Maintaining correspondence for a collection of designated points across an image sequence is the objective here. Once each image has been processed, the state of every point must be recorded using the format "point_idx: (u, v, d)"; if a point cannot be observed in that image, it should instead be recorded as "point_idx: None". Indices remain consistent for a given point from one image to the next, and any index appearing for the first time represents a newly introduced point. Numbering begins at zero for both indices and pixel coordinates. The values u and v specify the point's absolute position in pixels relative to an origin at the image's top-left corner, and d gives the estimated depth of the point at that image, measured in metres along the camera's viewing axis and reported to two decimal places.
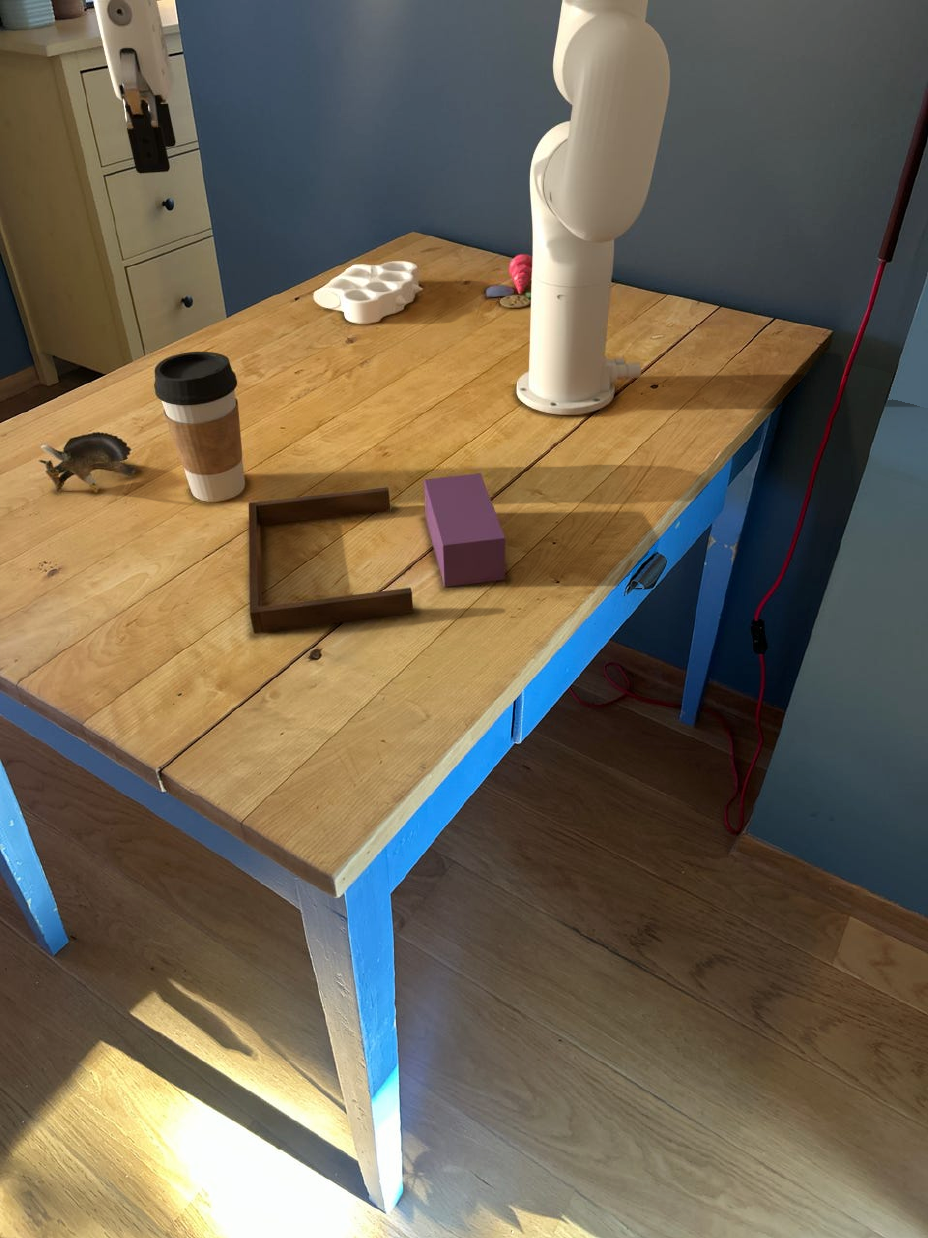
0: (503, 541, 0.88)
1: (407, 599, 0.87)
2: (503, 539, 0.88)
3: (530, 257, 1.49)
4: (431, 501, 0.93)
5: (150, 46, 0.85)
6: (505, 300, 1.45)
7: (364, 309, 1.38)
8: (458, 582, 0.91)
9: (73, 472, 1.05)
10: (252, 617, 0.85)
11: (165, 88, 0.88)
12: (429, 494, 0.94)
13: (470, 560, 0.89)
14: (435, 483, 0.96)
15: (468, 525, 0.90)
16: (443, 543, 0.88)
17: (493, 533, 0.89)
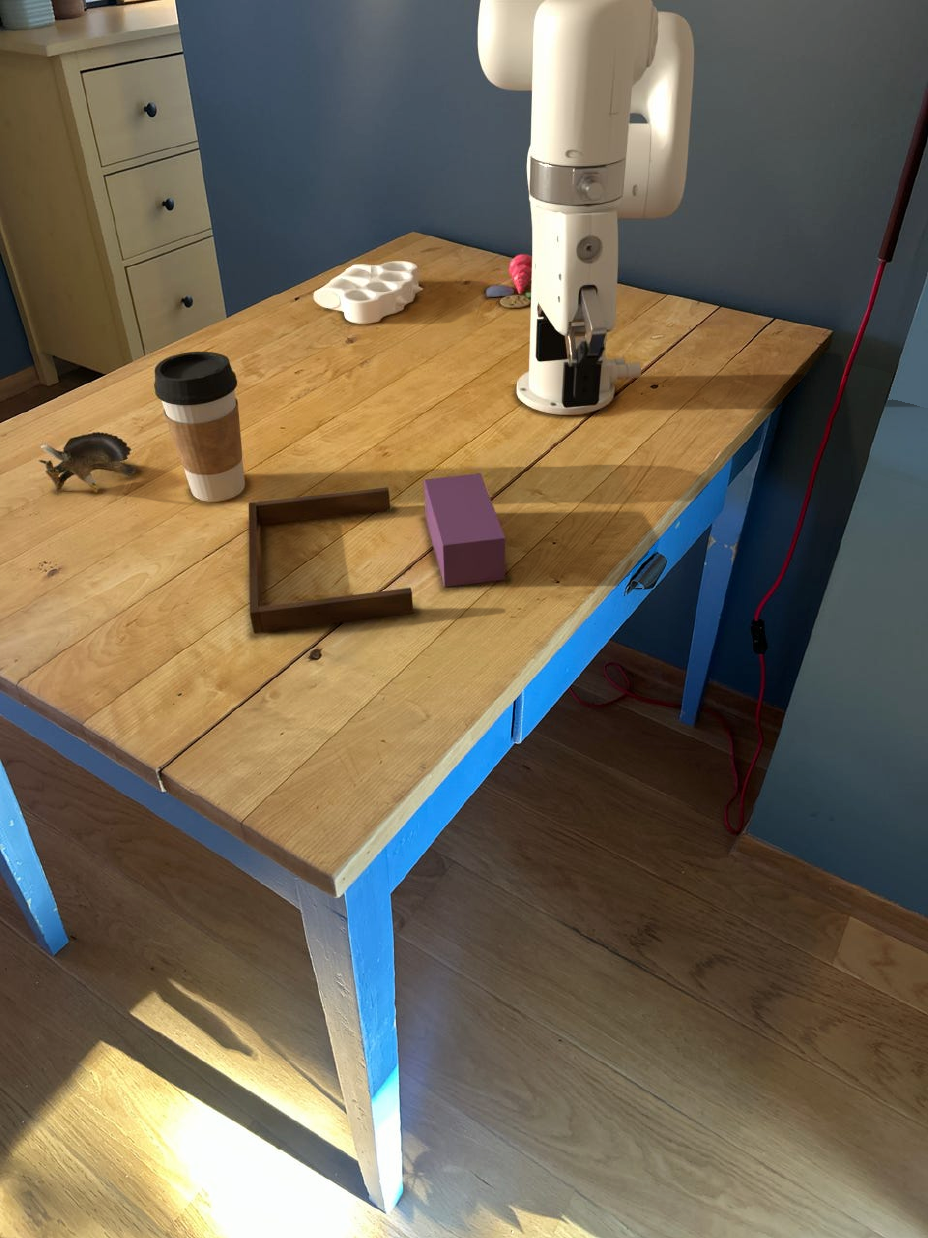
0: (503, 541, 0.88)
1: (407, 599, 0.87)
2: (503, 539, 0.88)
3: (530, 257, 1.49)
4: (431, 501, 0.93)
5: (613, 282, 0.75)
6: (505, 300, 1.45)
7: (364, 309, 1.38)
8: (458, 582, 0.91)
9: (73, 472, 1.05)
10: (252, 617, 0.85)
11: (614, 322, 0.78)
12: (429, 494, 0.94)
13: (470, 560, 0.89)
14: (435, 483, 0.96)
15: (468, 525, 0.90)
16: (443, 543, 0.88)
17: (493, 533, 0.89)
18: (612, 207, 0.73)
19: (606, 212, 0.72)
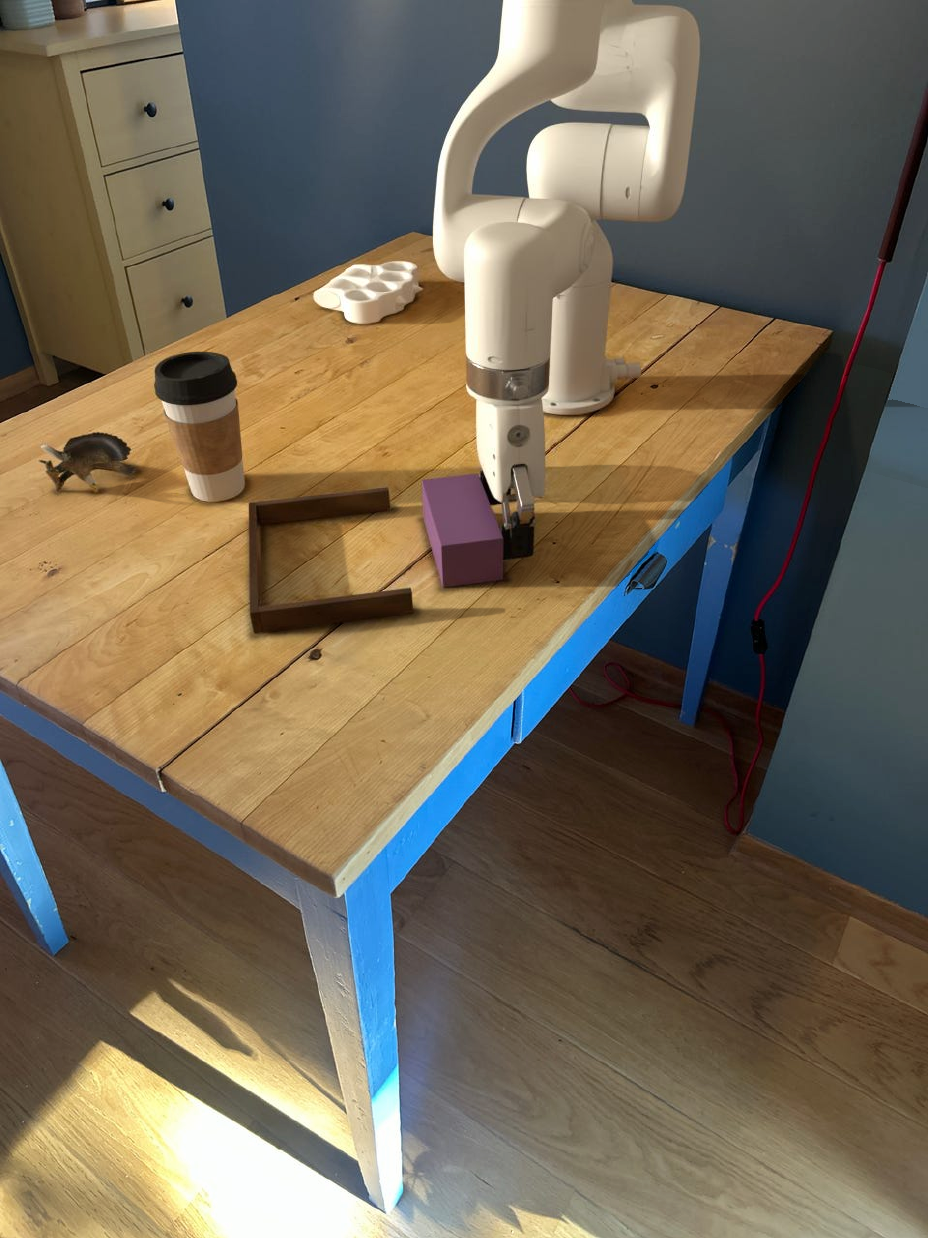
0: (501, 541, 0.88)
1: (407, 599, 0.87)
2: (501, 539, 0.88)
3: None
4: (429, 501, 0.93)
5: (541, 460, 0.85)
6: None
7: (364, 309, 1.38)
8: (456, 582, 0.91)
9: (73, 472, 1.05)
10: (252, 617, 0.85)
11: (544, 490, 0.87)
12: (427, 494, 0.94)
13: (468, 561, 0.89)
14: (432, 483, 0.96)
15: (466, 525, 0.90)
16: (441, 544, 0.88)
17: (491, 534, 0.89)
18: (538, 398, 0.83)
19: (532, 405, 0.82)
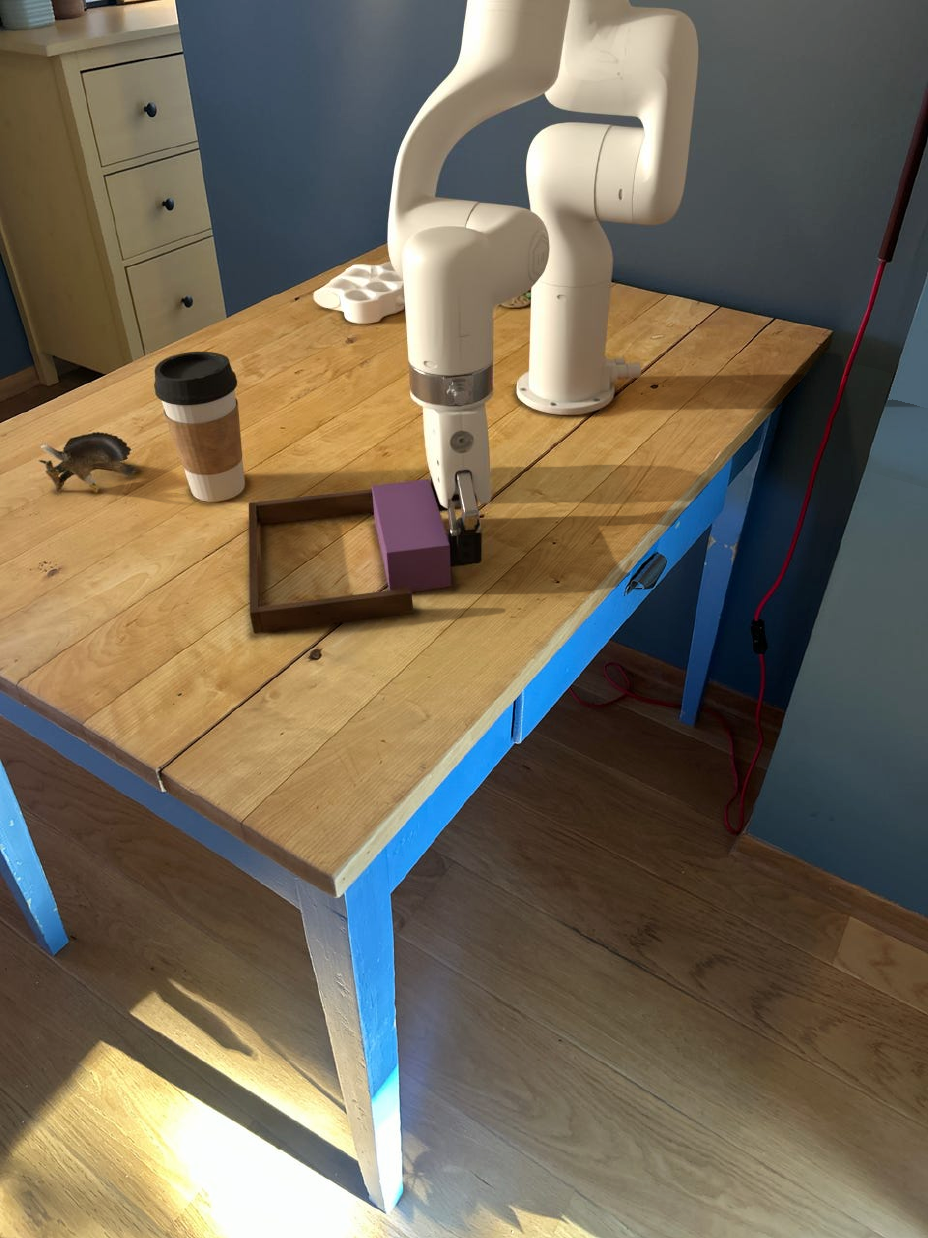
0: (448, 548, 0.88)
1: (407, 599, 0.87)
2: (448, 546, 0.88)
3: None
4: (377, 508, 0.93)
5: (485, 466, 0.84)
6: None
7: (364, 309, 1.38)
8: None
9: (73, 472, 1.05)
10: (252, 617, 0.85)
11: (490, 496, 0.87)
12: (376, 501, 0.94)
13: (414, 568, 0.89)
14: (383, 489, 0.95)
15: (413, 532, 0.89)
16: (387, 550, 0.87)
17: (437, 540, 0.88)
18: (481, 404, 0.82)
19: (475, 411, 0.81)
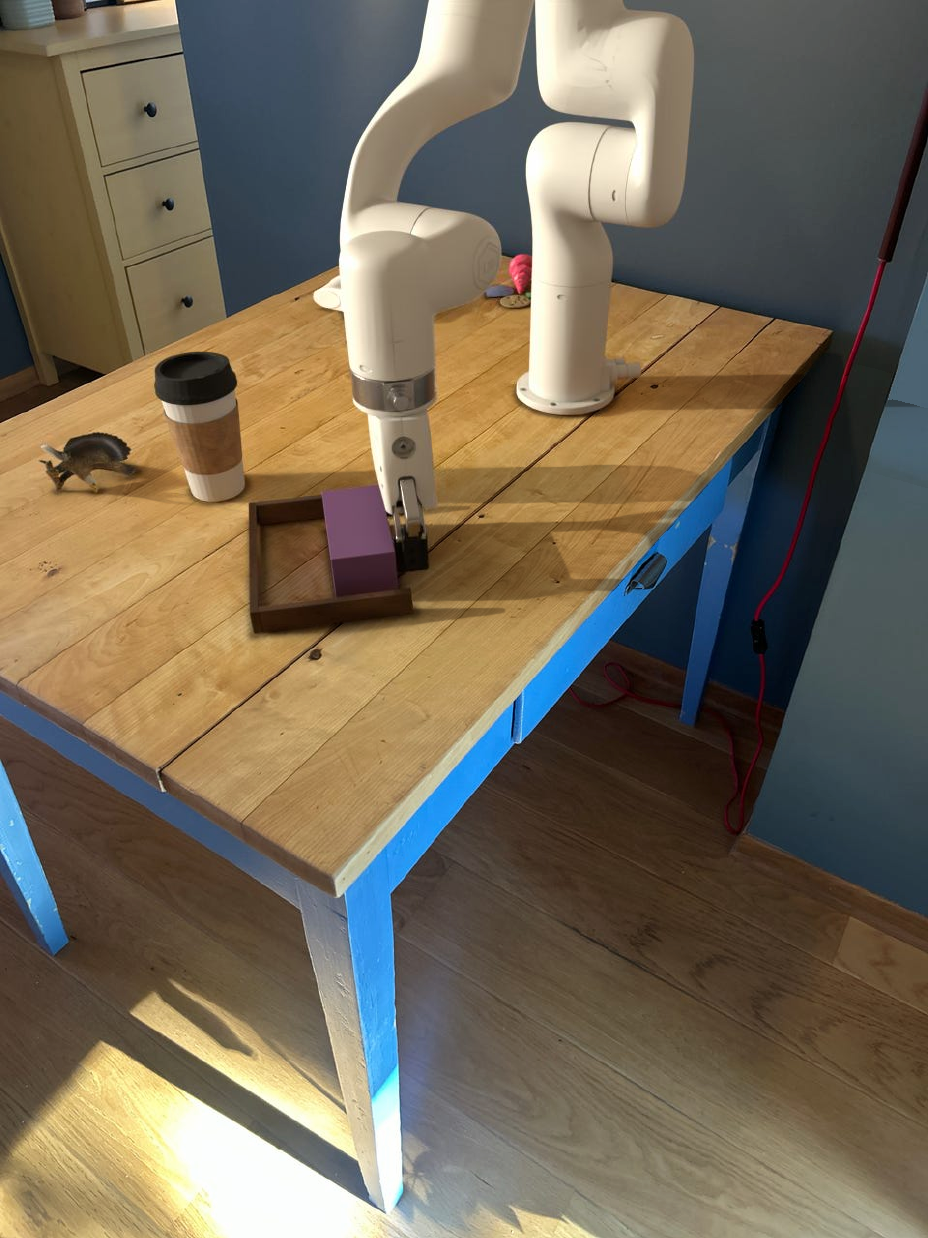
0: (393, 555, 0.87)
1: (407, 599, 0.87)
2: (393, 553, 0.87)
3: (530, 257, 1.49)
4: (325, 514, 0.92)
5: (429, 472, 0.83)
6: (505, 300, 1.45)
7: None
8: None
9: (73, 472, 1.05)
10: (252, 617, 0.85)
11: (436, 503, 0.86)
12: (324, 507, 0.93)
13: (360, 574, 0.88)
14: (332, 495, 0.94)
15: (359, 538, 0.89)
16: (331, 557, 0.86)
17: (383, 547, 0.87)
18: (423, 410, 0.81)
19: (416, 416, 0.81)
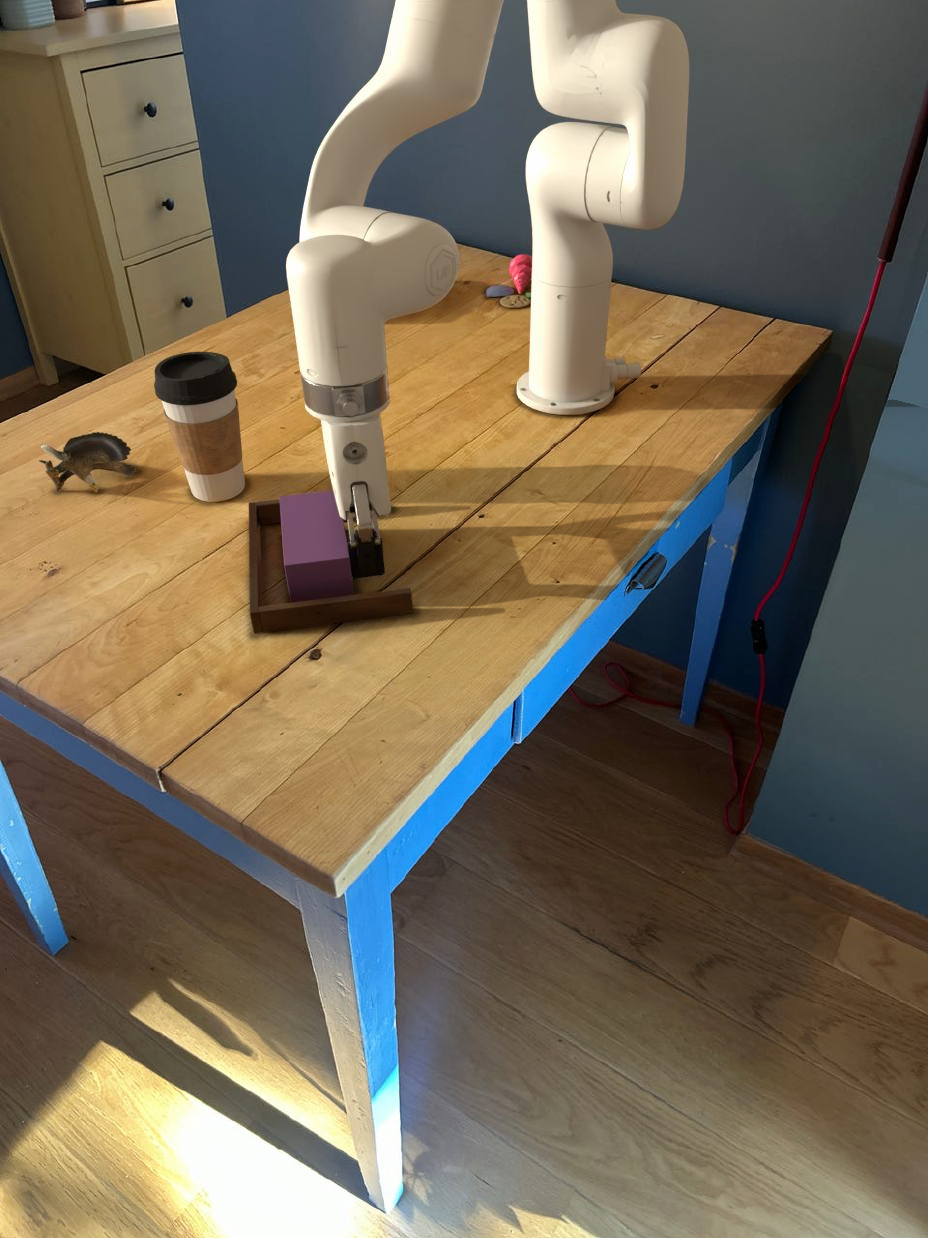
0: (348, 560, 0.87)
1: (407, 599, 0.87)
2: (347, 558, 0.86)
3: (530, 257, 1.49)
4: (282, 519, 0.91)
5: (381, 478, 0.83)
6: (505, 300, 1.45)
7: None
8: None
9: (73, 472, 1.05)
10: (252, 617, 0.85)
11: (390, 508, 0.85)
12: (281, 512, 0.92)
13: (315, 580, 0.87)
14: (290, 500, 0.94)
15: (314, 544, 0.88)
16: (285, 563, 0.86)
17: (338, 553, 0.87)
18: (375, 415, 0.81)
19: (367, 422, 0.80)
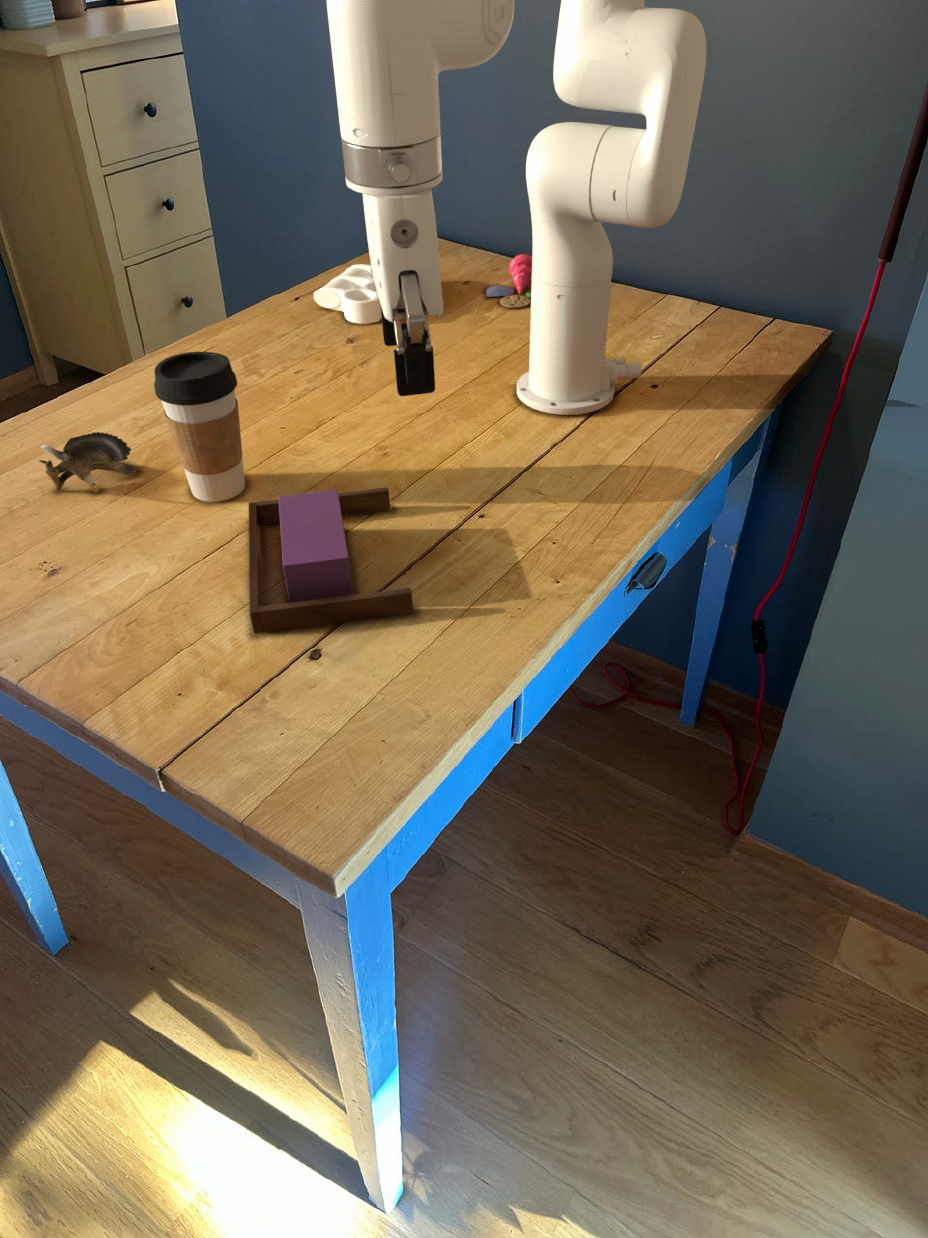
0: (346, 561, 0.87)
1: (407, 599, 0.87)
2: (346, 559, 0.86)
3: (530, 257, 1.49)
4: (281, 519, 0.91)
5: (434, 267, 0.73)
6: (505, 300, 1.45)
7: (364, 309, 1.38)
8: None
9: (73, 472, 1.05)
10: (252, 617, 0.85)
11: (442, 307, 0.75)
12: (280, 512, 0.92)
13: (314, 580, 0.87)
14: (289, 500, 0.94)
15: (313, 544, 0.88)
16: (284, 563, 0.86)
17: (336, 553, 0.87)
18: (427, 188, 0.71)
19: (418, 194, 0.70)
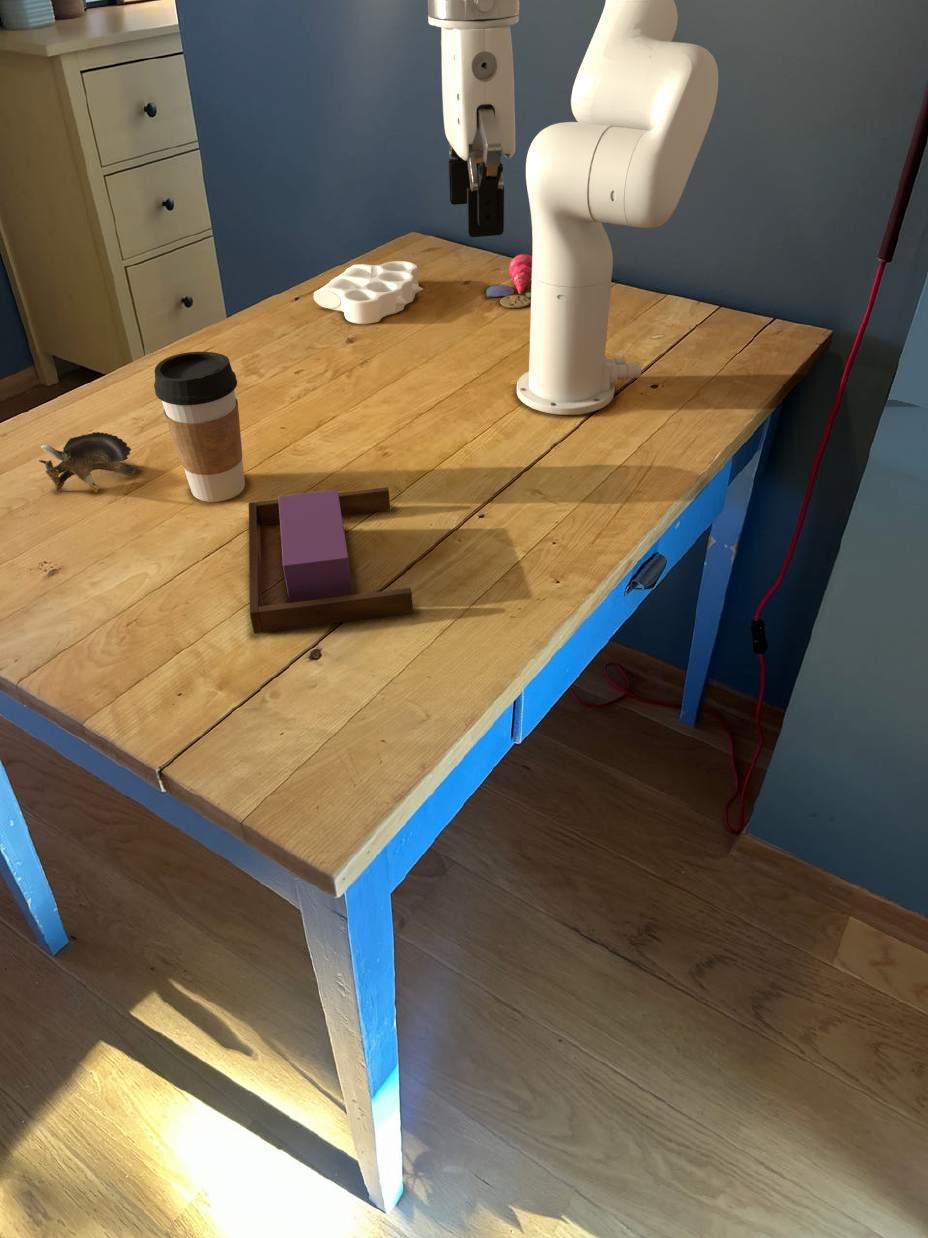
0: (346, 561, 0.87)
1: (407, 599, 0.87)
2: (346, 559, 0.86)
3: (530, 257, 1.49)
4: (281, 519, 0.91)
5: (509, 102, 0.78)
6: (505, 300, 1.45)
7: (364, 309, 1.38)
8: None
9: (73, 472, 1.05)
10: (252, 617, 0.85)
11: (514, 146, 0.80)
12: (280, 512, 0.92)
13: (314, 580, 0.87)
14: (289, 500, 0.94)
15: (313, 544, 0.88)
16: (284, 563, 0.86)
17: (336, 553, 0.87)
18: (506, 24, 0.75)
19: (499, 28, 0.75)
